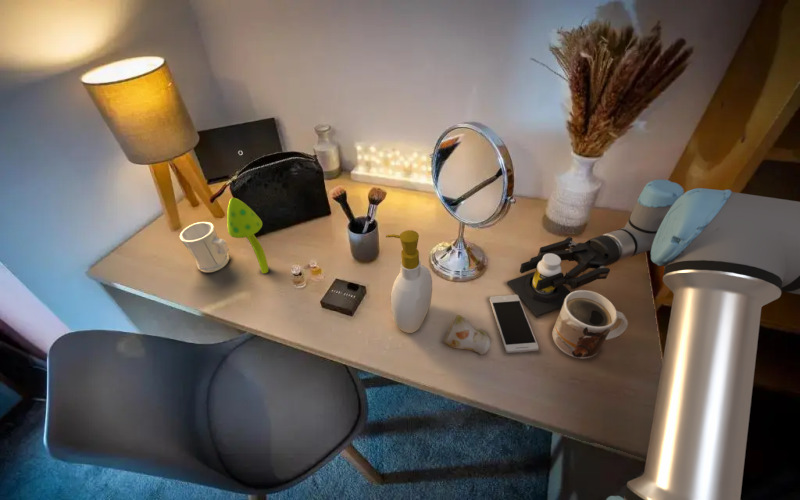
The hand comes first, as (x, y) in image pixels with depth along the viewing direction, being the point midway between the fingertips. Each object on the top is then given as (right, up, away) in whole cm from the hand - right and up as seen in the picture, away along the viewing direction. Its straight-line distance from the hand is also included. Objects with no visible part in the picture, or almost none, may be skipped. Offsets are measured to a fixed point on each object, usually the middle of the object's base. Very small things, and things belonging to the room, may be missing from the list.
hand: (529, 277), depth 82 cm
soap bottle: (-28, -10, +3) cm, 30 cm away
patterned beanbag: (-15, -15, -3) cm, 21 cm away
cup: (-85, +3, +22) cm, 88 cm away
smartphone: (-4, -11, 0) cm, 12 cm away
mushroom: (-69, 0, +18) cm, 71 cm away
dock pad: (+5, -4, +7) cm, 10 cm away
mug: (+10, -14, -4) cm, 18 cm away
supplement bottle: (+5, -3, +5) cm, 8 cm away
